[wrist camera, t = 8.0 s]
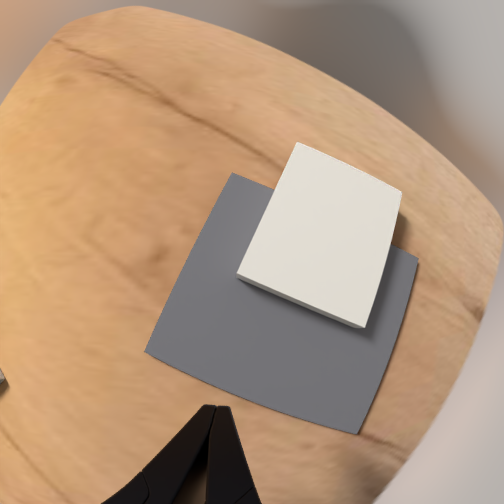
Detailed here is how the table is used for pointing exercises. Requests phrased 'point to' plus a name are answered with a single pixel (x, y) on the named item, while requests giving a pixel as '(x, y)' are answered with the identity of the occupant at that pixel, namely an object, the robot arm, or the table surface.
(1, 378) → the external hard drive
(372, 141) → the table surface
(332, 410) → the mat
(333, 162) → the tile
